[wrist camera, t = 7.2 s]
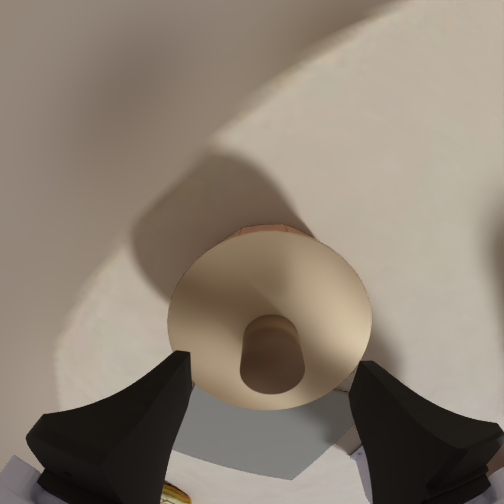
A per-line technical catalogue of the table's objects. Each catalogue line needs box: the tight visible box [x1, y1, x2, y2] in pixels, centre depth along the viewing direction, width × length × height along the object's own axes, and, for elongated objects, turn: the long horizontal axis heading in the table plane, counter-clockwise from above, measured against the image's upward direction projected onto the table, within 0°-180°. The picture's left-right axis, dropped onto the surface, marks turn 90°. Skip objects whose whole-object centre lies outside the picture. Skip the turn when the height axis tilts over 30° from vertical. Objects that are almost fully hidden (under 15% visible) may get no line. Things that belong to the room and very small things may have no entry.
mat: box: [172, 384, 354, 480], centre depth 23 cm, size 16×16×1 cm
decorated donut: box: [160, 483, 192, 504], centre depth 27 cm, size 10×11×4 cm
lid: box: [167, 230, 372, 410], centre depth 14 cm, size 12×12×4 cm
